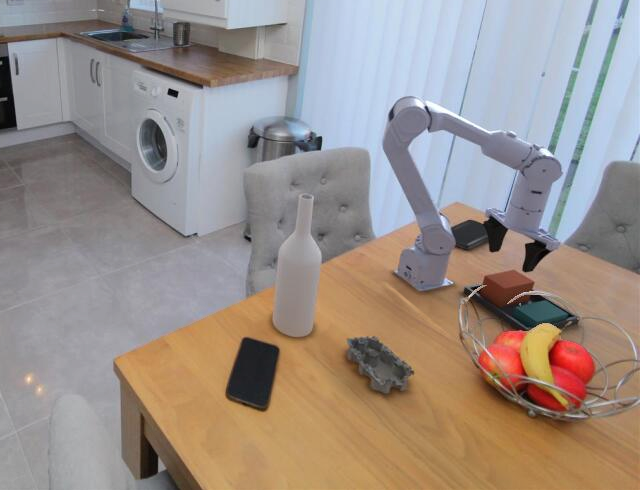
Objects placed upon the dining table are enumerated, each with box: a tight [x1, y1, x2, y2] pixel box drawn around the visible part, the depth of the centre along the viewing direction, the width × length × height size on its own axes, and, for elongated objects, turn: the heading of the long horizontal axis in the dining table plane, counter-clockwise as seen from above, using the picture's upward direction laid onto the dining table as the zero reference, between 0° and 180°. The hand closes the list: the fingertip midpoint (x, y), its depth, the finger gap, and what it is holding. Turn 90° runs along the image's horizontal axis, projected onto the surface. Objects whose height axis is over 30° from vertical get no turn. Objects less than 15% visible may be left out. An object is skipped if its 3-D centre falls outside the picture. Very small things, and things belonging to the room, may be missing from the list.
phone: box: [450, 219, 489, 251], centre depth 129 cm, size 8×1×15 cm
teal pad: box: [512, 300, 568, 328], centre depth 98 cm, size 8×4×2 cm, turn 104°
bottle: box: [272, 193, 323, 338], centre depth 95 cm, size 8×8×30 cm
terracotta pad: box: [480, 269, 535, 308], centre depth 104 cm, size 8×5×5 cm, turn 104°
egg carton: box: [346, 335, 415, 395], centre depth 88 cm, size 11×8×4 cm
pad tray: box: [463, 282, 581, 331], centre depth 102 cm, size 13×14×2 cm
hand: (510, 260), depth 104 cm, fingers open, 7 cm apart
